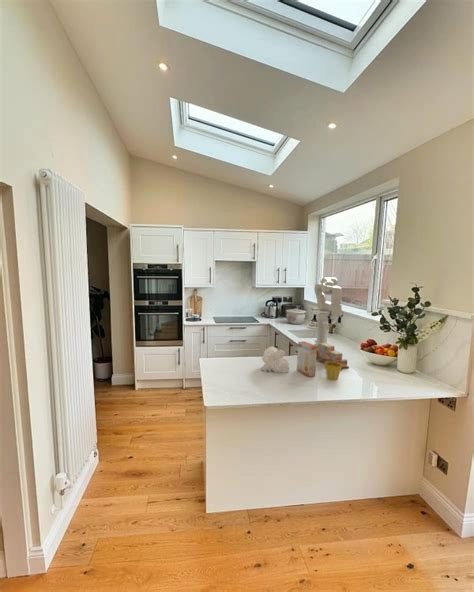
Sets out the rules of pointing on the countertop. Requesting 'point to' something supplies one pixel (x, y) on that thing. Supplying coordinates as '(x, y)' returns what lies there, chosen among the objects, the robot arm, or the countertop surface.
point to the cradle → (342, 361)
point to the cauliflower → (275, 360)
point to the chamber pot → (295, 316)
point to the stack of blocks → (328, 352)
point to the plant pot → (333, 370)
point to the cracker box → (306, 358)
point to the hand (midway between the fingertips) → (334, 323)
